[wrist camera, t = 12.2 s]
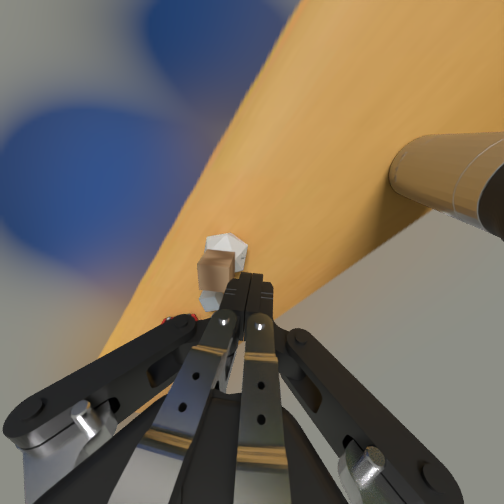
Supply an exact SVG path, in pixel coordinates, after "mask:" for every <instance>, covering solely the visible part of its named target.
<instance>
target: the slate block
mask: <svg viewBox="0 0 504 504" xmlns="http://www.w3.org/2000/svg"><path fill="white" fill-rule="evenodd" d="M222 298H223V293H222V292H214V291H205V290H203V292H202V294H201V296H200V298H199V300H200V302H201V304H202V306H203V308H204V310H205V312H208V311H215V310H218V309H219V306H220V304H221V301H222Z"/></svg>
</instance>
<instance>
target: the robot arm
mask: <svg viewBox="0 0 504 504" xmlns="http://www.w3.org/2000/svg"><path fill="white" fill-rule="evenodd" d="M389 180H390V184H391V186H392V188H393V189H394V190H395V191H396V192H397V193H398V194H400V195H402V196H404V197H407V198H409V199H411V200H414V201H416V202H418V203H420V204H423V205H425V206H428V207H430V208H432V209H435V210H437V211H439V212H442V213H444V214H446V215H449V216H451V217H453V218H456V219H458V220H460V221H463V222H465V223H467V224H470V225H472V226H475V227H477V228H479V229H482V230H484V231H486V232H489V233H491V234H493V235H495V236H497V237H500V238H501V239H502V240H503V241H504V132H486V133H463V134H437V135H427V136H422V137H420V138H417V139H415V140H413V141H411V142H410V143H408V144H407V145H406V146H405V147H403V148H402V150H401V151H400V152H399V153H398V154H397V155H396V157H395V158H394V160H393V162H392V164H391V167H390V171H389ZM243 337H244V341H246V343H245V356H244V369H243V382H242V393H236V394H226V388H227V384H228V380H229V377H230V373H231V370H232V366H233V362H234V359H235V355H236V349H237V347H238V341H239V340H240V341H243ZM279 373H280V374H281V377H282V379H283V380H284V382H285V383H286V384H287V386H288V387H289V389H290V390H291V391H292V393H293V394H294V396H295V397H296V398H297V400H298V401H299V403H300V404H301V405H302V407H303V408H304V410H305V411H306V412H307V414H308V415H309V417H310V418H311V419H312V421H313V422H314V424H315V425H316V426H317V428H318V429H319V431H320V432H321V433H322V435H323V436H324V437H325V439H326V440H327V442H328V443H329V445H330V446H331V447H332V449H333V450H334V452H335V453H336V454H337V456H338V457H339V462H338V474H339V478H340V481H341V484H342V486H343V488H344V489H345V492H346V493H347V495H348V497H349V500H350V503H351V504H464V500H463V496H462V493H461V490H460V488H459V486H458V484H457V482H456V481H455V479H454V477H453V476H452V474H451V473H450V472H449V471H448V469H447V468H446V467H445V466H444V465H443V464H442V463H441V462H440V461H439V460H438V459H437V458H436V457H435V456H434V455H433V454H432V453H431V452H430V451H429V450H428V449H427V448H426V447H425V446H424V445H423V444H422V443H421V442H420V441H419V440H418V439H417V438H416V437H415V436H414V435H413V434H412V433H411V432H410V431H409V430H408V429H407V428H406V427H405V426H404V425H403V424H402V423H401V422H400V421H399V420H398V419H397V418H396V417H395V416H393V414H392V413H391V412H390V411H389V410H388V409H387V408H385V407H384V406H383V405H382V404H381V403H380V402H379V401H378V400H377V399H376V398H375V397H374V396H373V395H372V394H371V393H370V392H369V391H368V390H367V389H366V388H365V387H364V386H363V385H362V384H361V383H360V382H359V381H358V380H357V379H356V378H355V377H354V376H353V375H352V374H351V373H350V372H349V371H348V370H347V369H346V368H345V367H344V366H343V365H342V364H341V363H340V362H339V361H338V360H337V359H336V358H335V357H334V356H333V355H332V354H331V353H330V352H329V351H328V350H327V349H326V348H325V347H324V346H322V344H321V343H320V342H318V340H317V339H315V338H314V337H313V336H312V335H311V334H310V333H309V332H307V331H306V330H304V329H300V328H295V329H292V330H291V331H286V330H284V329H282V328H280V327H278V326H277V325H276V324H275V322H274V321H273V286H272V284H271V283H270V282H263V274H257V273H253V274H252V273H247V272H241V274H240V277H239V279H231V280H230V281H229V282H228V284H227V287H226V289H225V292H224V295H223V298H222V301H221V304H220V306H219V309H218V311H216V312H215V313H214V314H213V315H212V317H211V318H208V319H204V320H198V321H195V318H194V317H193V316H191V315H188V314H181V315H178V316H176V317H174V318H172V319H170V320H168V321H166V322H165V323H163V324H161V325H159V326H157V327H155V328H154V329H152V330H150V331H148V332H146V333H145V334H143V335H141V336H139V337H137V338H135V339H134V340H132V341H130V342H128V343H126V344H125V345H123V346H121V347H119V348H117V349H115V350H114V351H112V352H110V353H108V354H106V355H105V356H103V357H101V358H99V359H97V360H95V361H94V362H92V363H90V364H88V365H86V366H85V367H83V368H81V369H79V370H77V371H75V372H74V373H72V374H70V375H68V376H66V377H65V378H63V379H61V380H59V381H57V382H55V383H54V384H52V385H50V386H49V387H46V388H45V389H43V390H41V391H39V392H37V393H35V394H34V395H32V396H30V397H28V398H27V399H26V400H24V401H23V402H21V403H20V404H19V405H18V406H17V407H16V408H15V409H14V410H13V411H12V412H11V413H10V414H9V416H8V417H7V419H6V420H5V423H4V425H3V433H4V435H5V436H6V437H7V438H9V439H10V440H11V441H12V442H13V443H15V445H16V447H17V448H18V449H19V450H20V451H21V452H22V453H23V467H24V490H25V504H348V502H347V500H346V499H345V497H344V496H343V494H342V492H341V491H340V489H339V488H338V486H337V485H336V483H335V481H334V480H333V478H332V476H331V475H330V473H329V472H328V470H327V468H326V467H325V465H324V463H323V462H322V460H321V459H320V457H319V455H318V454H317V452H316V451H315V449H314V447H313V446H312V444H311V443H310V441H309V439H308V438H307V436H306V434H305V433H304V431H303V430H302V428H301V426H300V425H299V424H298V422H297V421H296V419H295V418H294V417H293V416H292V415H291V414H290V413H289V412H288V411H287V410H286V409H285V408H283V407H282V405H281V393H280V381H279ZM171 383H173V384H172V386H171V388H170V390H169V392H168V394H166V395H164V396H163V397H161V398H160V399H158V400H157V401H155V402H154V403H153V404H152V405H150V406H149V407H148V408H147V409H146V410H144V411H143V412H142V413H141V414H140V415H138V416H137V417H136V418H135V419H133V420H132V421H131V422H130V423H129V424H128V425H127V426H125V427H124V428H123V429H122V430H120V431H119V432H118V433H117V434H115V435H114V433H115V431H116V428H117V425H118V424H119V423H120V422H122V421H123V420H124V419H126V418H127V417H128V416H130V415H131V414H132V413H133V412H135V411H136V410H137V409H139V408H140V407H141V406H143V405H144V404H145V403H147V402H148V401H149V400H151V399H152V398H153V397H154V396H156V395H157V394H158V393H160V392H161V391H162V390H164V389H165V388H166V387H168V386H169V385H170V384H171ZM113 435H114V436H113Z"/></svg>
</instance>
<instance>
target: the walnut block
mask: <svg viewBox="0 0 504 504" xmlns="http://www.w3.org/2000/svg"><path fill="white" fill-rule="evenodd" d="M197 270H198V281H199V290H205V291H214V292H222V293H224V292H225V289H226V287H227V284H228V282H229V281H230V280H231V279H234V276H235V252H230V251H221V250H211V249H207V250H206V251H205V253H204V254H203V256H202V257H201V259H200V260H199V262H198V263H197Z"/></svg>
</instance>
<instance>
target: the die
mask: <svg viewBox="0 0 504 504" xmlns="http://www.w3.org/2000/svg"><path fill="white" fill-rule="evenodd" d="M247 248H248V245H247V244H246V243H244V242H243V241H242V240H240V239H239V238H237V237H236V236H235V235H233V234H232V233H225V234H220V235H214V236H209V237H207V239H206V245H205V251H206V250H207V249H211V250H221V251H230V252H235V272H238V271H242V270H243V268H244V263H245V258H246V253H247ZM205 251H204V253H205Z"/></svg>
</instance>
